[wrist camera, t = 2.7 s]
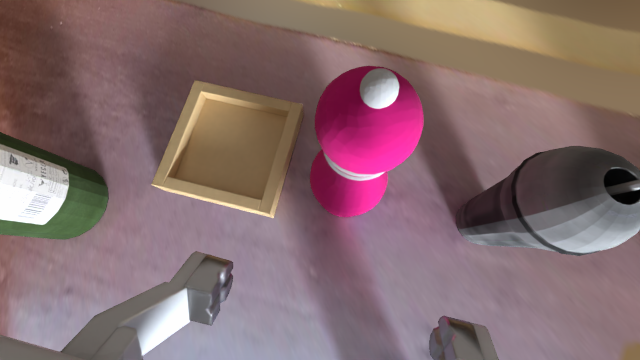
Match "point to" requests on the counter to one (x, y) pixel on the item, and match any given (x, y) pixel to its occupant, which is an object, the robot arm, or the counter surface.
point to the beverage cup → (558, 203)
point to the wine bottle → (46, 193)
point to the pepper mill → (362, 137)
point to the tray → (231, 148)
